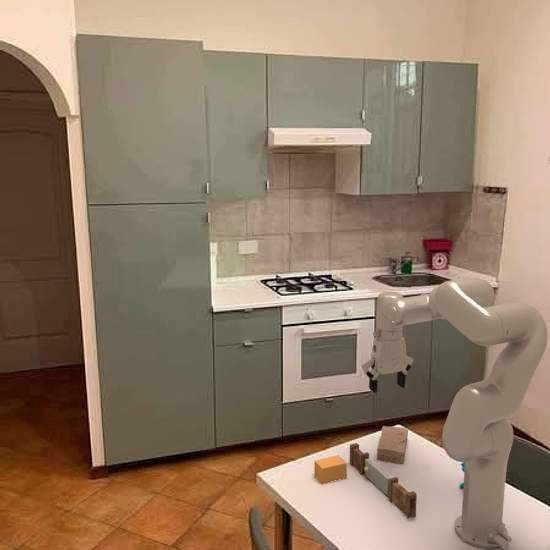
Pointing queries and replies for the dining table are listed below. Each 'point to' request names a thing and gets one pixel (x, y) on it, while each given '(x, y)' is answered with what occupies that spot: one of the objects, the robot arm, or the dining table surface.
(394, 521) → the dining table surface
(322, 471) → the orange rectangular block
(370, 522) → the dining table surface
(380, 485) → the door
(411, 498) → the wall frame
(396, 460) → the brick
